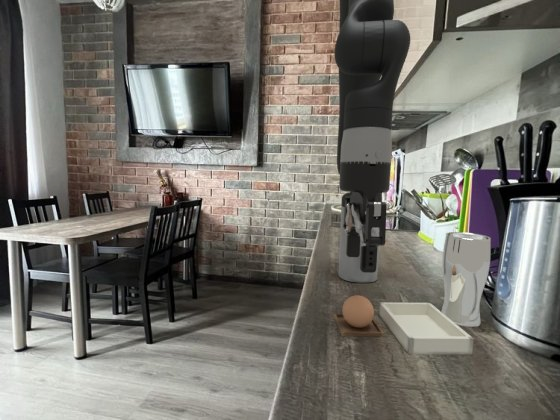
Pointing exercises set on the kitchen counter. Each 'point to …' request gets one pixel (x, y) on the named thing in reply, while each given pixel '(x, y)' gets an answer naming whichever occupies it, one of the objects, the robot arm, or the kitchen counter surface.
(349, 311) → the egg
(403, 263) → the kitchen counter surface
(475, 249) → the beer glass
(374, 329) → the holder
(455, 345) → the tray
